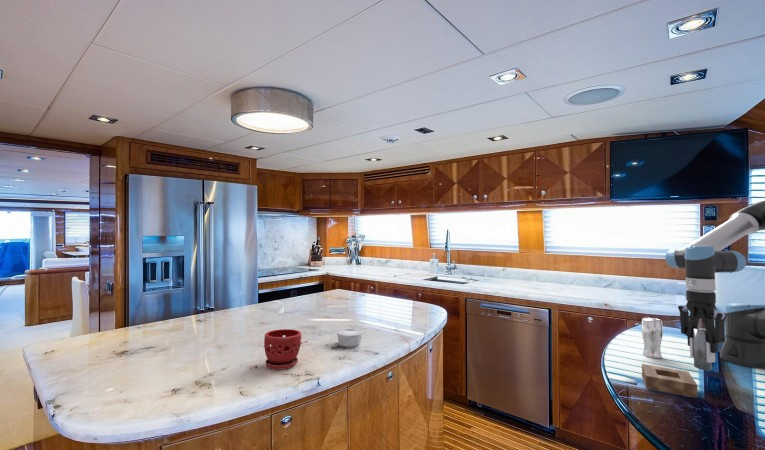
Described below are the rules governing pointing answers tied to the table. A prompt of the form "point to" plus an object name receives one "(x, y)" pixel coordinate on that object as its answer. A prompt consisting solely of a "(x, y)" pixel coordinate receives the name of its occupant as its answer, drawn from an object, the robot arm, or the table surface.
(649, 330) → the beer glass
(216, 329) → the table surface
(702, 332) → the steel peg
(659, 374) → the socket block
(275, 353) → the plant pot
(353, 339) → the ramekin
